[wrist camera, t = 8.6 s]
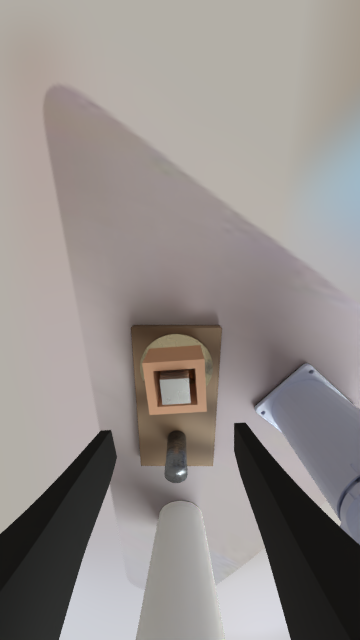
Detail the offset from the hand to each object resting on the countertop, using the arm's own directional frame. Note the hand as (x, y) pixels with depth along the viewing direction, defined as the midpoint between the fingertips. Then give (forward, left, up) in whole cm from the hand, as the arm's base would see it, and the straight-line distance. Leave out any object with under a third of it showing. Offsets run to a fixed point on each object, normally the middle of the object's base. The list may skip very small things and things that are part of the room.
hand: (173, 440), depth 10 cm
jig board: (-3, +4, -9) cm, 10 cm away
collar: (0, 0, -8) cm, 8 cm away
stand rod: (-6, +7, -9) cm, 13 cm away
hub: (0, 0, -9) cm, 9 cm away
